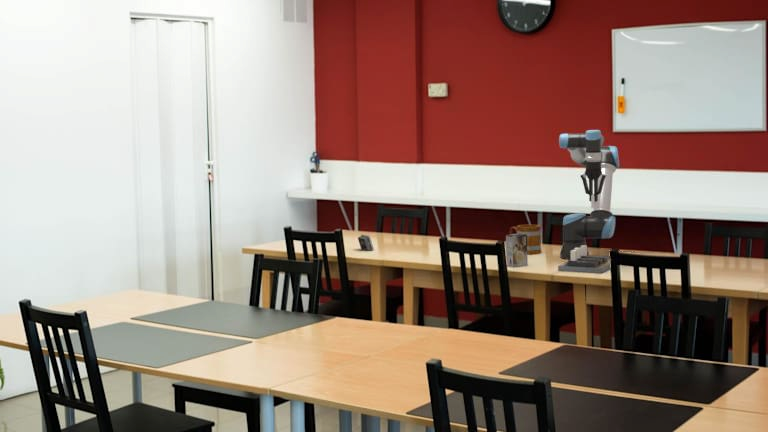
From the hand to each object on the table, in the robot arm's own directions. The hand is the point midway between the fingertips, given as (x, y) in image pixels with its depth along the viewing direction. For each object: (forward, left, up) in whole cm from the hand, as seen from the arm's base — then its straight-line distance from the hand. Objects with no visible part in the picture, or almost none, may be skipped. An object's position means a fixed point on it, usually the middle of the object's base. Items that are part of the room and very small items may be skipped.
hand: (593, 208), depth 513 cm
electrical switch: (-10, -137, -30) cm, 141 cm away
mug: (-30, -48, -30) cm, 64 cm away
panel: (+7, -1, -29) cm, 30 cm away
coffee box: (+11, -37, -30) cm, 49 cm away
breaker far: (-1, -6, -25) cm, 25 cm away
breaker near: (+15, -6, -25) cm, 29 cm away
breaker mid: (+7, -6, -25) cm, 26 cm away
